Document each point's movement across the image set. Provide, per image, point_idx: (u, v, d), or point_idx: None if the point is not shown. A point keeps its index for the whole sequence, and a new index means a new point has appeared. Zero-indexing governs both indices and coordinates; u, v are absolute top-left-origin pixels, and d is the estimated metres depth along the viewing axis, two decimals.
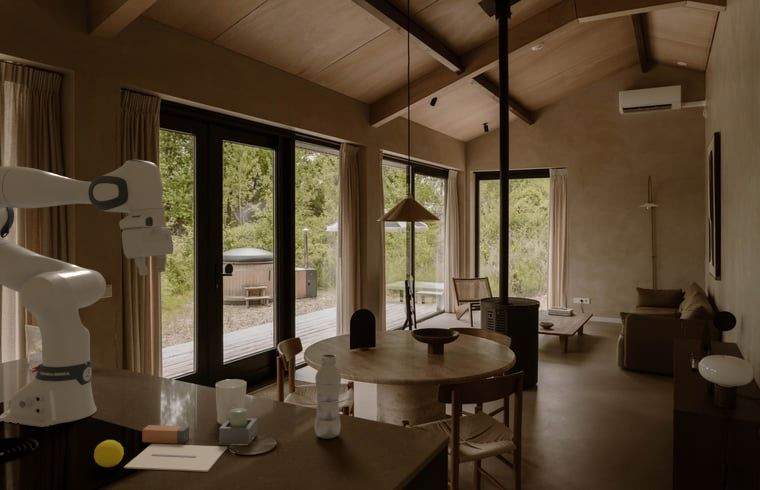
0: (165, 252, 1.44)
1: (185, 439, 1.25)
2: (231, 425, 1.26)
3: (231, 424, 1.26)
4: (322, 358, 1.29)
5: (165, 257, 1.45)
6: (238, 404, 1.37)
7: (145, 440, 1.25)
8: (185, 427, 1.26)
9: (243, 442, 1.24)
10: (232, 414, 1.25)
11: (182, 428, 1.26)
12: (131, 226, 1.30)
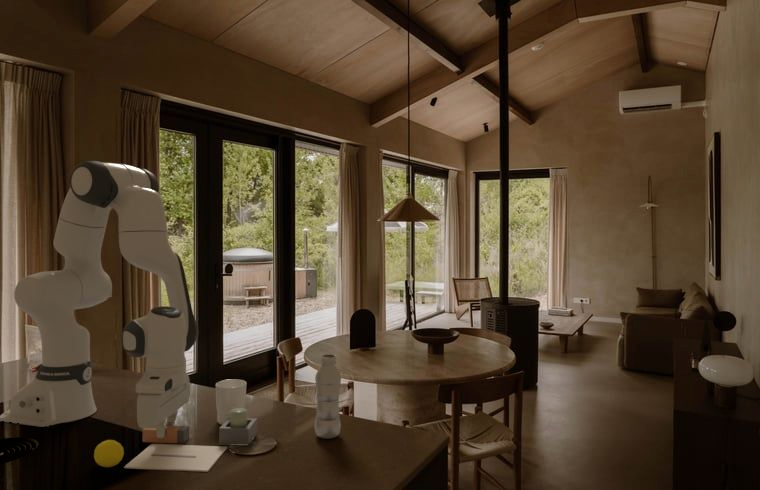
0: (181, 405, 1.30)
1: (185, 439, 1.25)
2: (231, 425, 1.26)
3: (231, 424, 1.26)
4: (322, 358, 1.29)
5: (176, 412, 1.29)
6: (238, 404, 1.37)
7: (146, 439, 1.25)
8: (185, 427, 1.26)
9: (243, 442, 1.24)
10: (232, 414, 1.25)
11: (182, 428, 1.26)
12: (148, 392, 1.17)
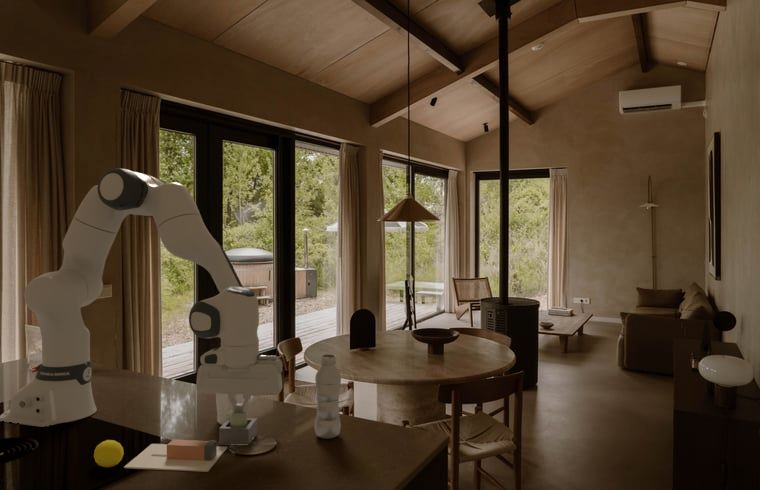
0: (256, 392, 1.25)
1: (213, 455, 1.16)
2: (231, 426, 1.26)
3: (231, 425, 1.26)
4: (322, 358, 1.29)
5: (245, 397, 1.26)
6: None
7: (170, 456, 1.15)
8: (212, 442, 1.17)
9: (243, 442, 1.24)
10: (232, 414, 1.25)
11: (209, 443, 1.16)
12: None
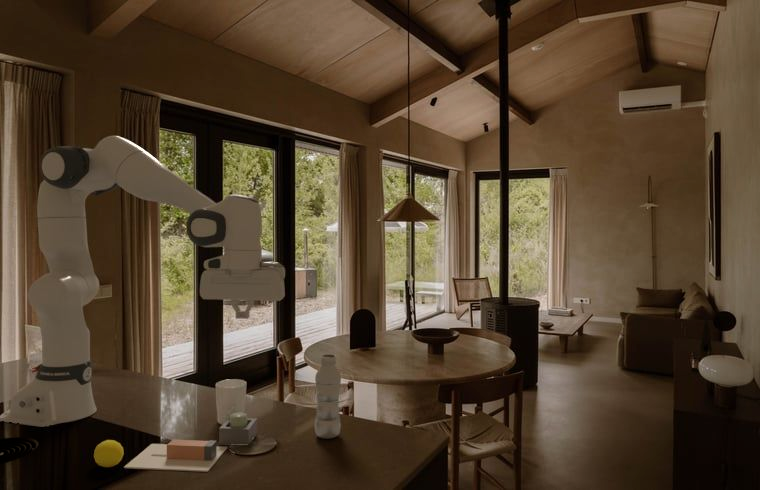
0: (259, 298, 1.26)
1: (213, 455, 1.16)
2: None
3: None
4: (322, 358, 1.29)
5: (248, 303, 1.27)
6: (238, 404, 1.37)
7: (170, 456, 1.15)
8: (212, 442, 1.17)
9: (243, 442, 1.24)
10: (232, 418, 1.25)
11: (209, 443, 1.16)
12: None
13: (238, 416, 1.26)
